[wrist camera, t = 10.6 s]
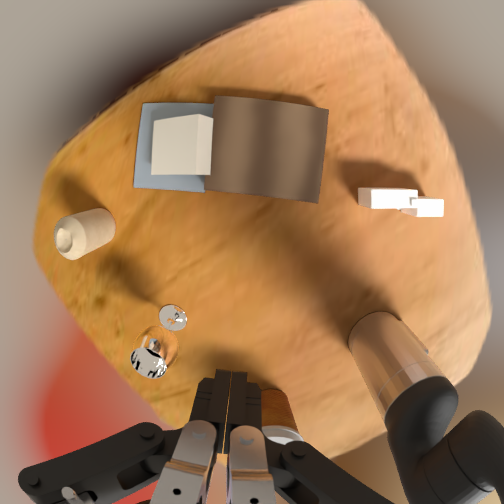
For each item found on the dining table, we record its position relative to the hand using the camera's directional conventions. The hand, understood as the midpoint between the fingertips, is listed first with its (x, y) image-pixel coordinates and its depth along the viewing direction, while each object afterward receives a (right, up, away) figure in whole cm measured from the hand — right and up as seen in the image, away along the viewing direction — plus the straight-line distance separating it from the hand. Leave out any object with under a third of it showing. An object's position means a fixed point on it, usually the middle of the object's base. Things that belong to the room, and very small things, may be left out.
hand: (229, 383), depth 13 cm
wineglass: (-11, -3, +29) cm, 31 cm away
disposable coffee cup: (+4, -20, +33) cm, 39 cm away
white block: (-7, +20, +21) cm, 29 cm away
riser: (+3, +20, +23) cm, 30 cm away
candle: (-21, +10, +26) cm, 35 cm away
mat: (-9, +21, +23) cm, 32 cm away
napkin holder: (+22, +14, +25) cm, 36 cm away
